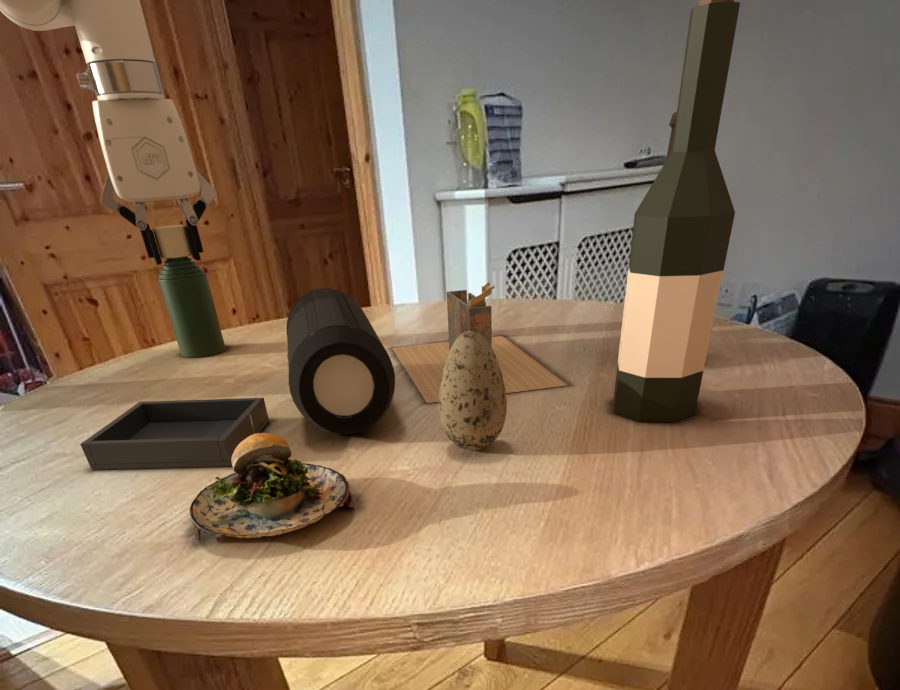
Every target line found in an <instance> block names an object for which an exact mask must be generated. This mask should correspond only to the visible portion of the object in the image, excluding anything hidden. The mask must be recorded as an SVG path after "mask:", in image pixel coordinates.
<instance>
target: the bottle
mask: <svg viewBox="0 0 900 690" xmlns="http://www.w3.org/2000/svg"><path fill="white" fill-rule="evenodd" d="M163 262H164V264H161V266H162V267H161V269H159V271H160V272H159V273H157V275H158V278H157V279H158V280H157V281H158V284H159V287H160V291H161V293H162V297H163V300H164V304H165V306H166V310H167V313H168V316H169V320H170V323H171V326H172V330H173V333H174V336H175V340H176V343H177V347H178V350H179V352H180V356H181V357H185V358H203V357H209V356H214V355H218V354H221V353H223V352H224V351H226V348H227V347H226V344H225V339H224V337H223V333H222V329H221V325H220V320H219V317H218V314H217V310H216V306H215V302H214V298H213V294H212V289H211V287H210V283H209V279H208V276H207V273H206V272H205V270H204V269H203V268H201V266H200V265H198V264H196V261H193V260H192V257H189V256H186V257H179V258H165V260H164V261H163Z"/></svg>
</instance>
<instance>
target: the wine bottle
mask: <svg viewBox="0 0 900 690" xmlns="http://www.w3.org/2000/svg"><path fill="white" fill-rule="evenodd" d="M740 7H741V2H740V1H735V0H698V1H697V5H696V6H693V7H692V8H691V9H690V15H689V21H688V22H689V23H688V28H687V29H688V30H687V37H686V44H685V51H684V58H683V66H682V71H681V80H680V88H679V92H678V93H679V94H678V101H677V102H678V103H677V107H676V108H677V109H676V112H677V115H676V122H675V129H674V137H673V144H672V151H671V154H670V155H669V157H668V159H667V160H666V159H665V162H664V164H663V165H662V166H661V169H660V170H659V172H658V173H657V175H656V177H655V178H654V180H653V183H652V184H651V185H650V187H649V189H648V190H647V192H646V194H645V196H644V197H643V199H642V201H641V202H640V204H639V205H638V207H637V209H636V211H635V212H634V217H633V225H632V235H631V243H630V251H629V261H628V269H627V278H626V285H625V286H626V287H625V295H624V305H623V313H622V320H621V321H622V322H621V330H620V339H619V347H618V357H617V366H616V374H615V382H614V390H613V400H612V405H613V413H614V414H615V415H618V416H621V417H625V418H626V419H630V420H633V421H636V422H638V423H643V422H644V423H675V422H678V421H681V420H683V419H686V418H688V417H692V416H694V415H696V410H697V405H698V400H699V396H700V391H701V384H702V379H703V376H704V370H705V365H706V360H707V355H708V350H709V345H710V341H711V335H712V331H713V327H714V326H713V325H714V320H715V315H716V311H717V306H718V299H719V295H720V290H721V285H722V280H723V275H724V270H725V265H726V260H727V255H728V250H729V245H730V241H731V236H732V235H731V234H732V230H733V226H734V225H733V224H734V220H735V214H736V210H735V208H734V205H733V201H732V199H731V195H730V192H729V189H728V185H727V184H726V180H725V177H724V174H723V171H722V168H721V165H720V162H719V159H718V156H717V152H716V146H717V139H718V134H719V127H720V123H721V116H722V111H723V105H724V99H725V93H726V87H727V81H728V77H729V70H730V64H731V59H732V53H733V48H734V47H733V46H734V41H735V35H736V30H737V24H738V18H739V12H740Z"/></svg>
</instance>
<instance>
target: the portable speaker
mask: <svg viewBox="0 0 900 690" xmlns="http://www.w3.org/2000/svg"><path fill="white" fill-rule="evenodd" d="M285 329H286V339H287V341H286V342H287V351H286V354H287V356H286V357H287V363H288V375H287V377H288V388H289V392H290V396H291V399H292V401H293V403H294V405H295V407H296V409H297V410H298V411H299V413H300V414H301V415H302V416H303V418H304V419H306V420H307V422H309V423H310V424H311V425H313V426H315V427H316V428H318V429H320V430H322V431H325V432H327V433H330V434H336V435H339V436H345V435H354V434H360V433H362V432H363V431H365V430H368V429H369V428H371V427H373V426H374V425H376V424H377V423H378V422H379V421H380V420H381V419H382V418H383V417H384V416H385V414H386V413H387V411H388V409H390V406H391V403H392V402H393V399H394V396H395V395H394V394H395V390H396V389H395V388H396V376H395V375H396V374H395V369H394V365H393V362H392V360H391V357H390V355H389V353H388V352H387V350H386V348H385V346H384V344H383V343H382V340H381V339H380V338H379V336H378V334H377V332H376V331H375V328H374V327H373V325H372V323H371V322H370V320H369V318H368V317H367V315H366V313H365V312H364V310H363V309H362V307H361V305H360V304H359V303H358V302H357V301H356V300H355V299H354V298H352V297H351V296H350V295H348V294H347V293H345V292H342V291H340V290H337V289H334V288H330V287H326V288H325V287H321V288H315V289H312V290H310V291H308V292H306V293H305V294H303V295H302V296H300V297H299V298H297V300H296V301H295V302H294V304H293V305H292V307H291V308H290V311H289V313H288V315H287V320H286V328H285Z"/></svg>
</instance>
